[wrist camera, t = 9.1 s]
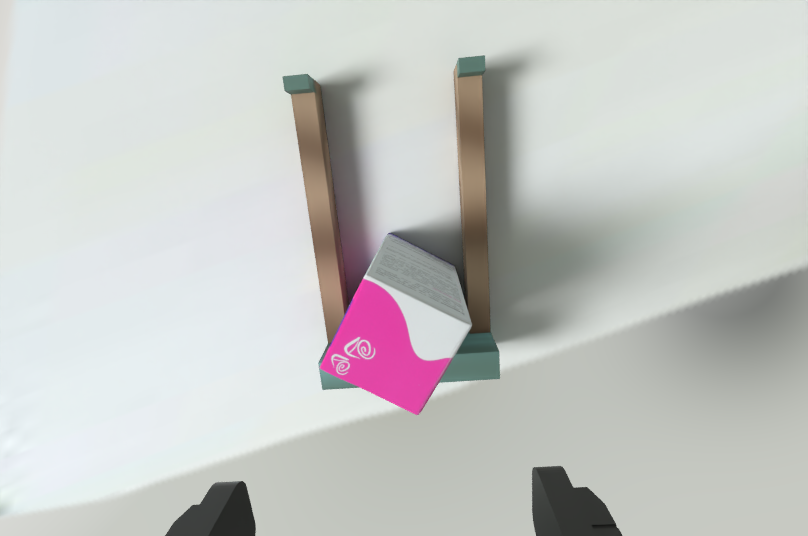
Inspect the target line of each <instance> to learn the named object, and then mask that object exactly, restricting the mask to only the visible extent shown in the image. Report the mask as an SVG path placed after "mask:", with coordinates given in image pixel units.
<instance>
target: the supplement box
mask: <svg viewBox="0 0 808 536" xmlns="http://www.w3.org/2000/svg"><path fill="white" fill-rule="evenodd" d="M471 327H472V323H471V319H470V316H469V312H468V309H467V306H466V303H465V299H464V296H463V293H462V289H461V286H460V282H459V279H458V275H457V272H456V268H455V266H454V265H452V264H451V263H449V262H447V261H445V260H443V259H441V258H439V257H437V256H435V255H433V254H431V253H429V252H427V251H425V250H423V249H421V248H419V247H417V246H415V245H413V244H411V243H409V242H407V241H405V240H403V239H401V238H399V237H398V236H396V235H394V234H391V233H388V234H387V236H386V237H385V239H384V241H383V243H382V244H381V246H380V248H379V250H378V252H377V254H376V255H375V257H374V259H373V261H372V263H371V265H370V267H369V268H368V270H367V272H366V274H365V276H364V278H363V280H362V282H361V283H360V285H359V287H358V289H357V291H356V293H355V295H354V297H353V299H352V301H351V303H350V305H349V307H348V309H347V311H346V313H345V315H344V317H343V319H342V321H341V323H340V326H339V328H338V330H337V332H336V334H335V336H334V338H333V340H332V342H331V344H330V346H329V349H328V351H327V353H326V355H325V357H324V359H323V361H322V363H321V365H320V369H321V370H323V371H325V372H327V373H329V374H331V375H333V376H336V377H338V378H340V379H342V380H344V381H346V382H349V383H351V384H353V385H356V386H358V387H360V388H362V389H364V390H366V391H369V392H371V393H373V394H375V395H377V396H379V397H381V398H383V399H385V400H387V401H389V402H391V403H393V404H395V405H397V406H399V407H401V408H403V409H405V410H407V411H409V412H412V413H414V414H416V415H418V414H419V413H420V412H421V411H422V409H423V408H424V406H425V404H426V403H427V401H428V400H429V398H430V396H431V395H432V393H433V391H434V390H435V388H436V386H437V385H438V383H439V382H440V380H441V378H442V376H443V375H444V373H445V371H446V370H447V368H448V366H449V365H450V363H451V361H452V359H453V358H454V356H455V354H456V353H457V351H458V349H459V347H460V346H461V344H462V342H463V340H464V339H465V337H466V336H467V334H468V332H469V330H470V329H471Z"/></svg>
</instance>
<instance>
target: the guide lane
mask: <svg viewBox="0 0 808 536" xmlns="http://www.w3.org/2000/svg"><path fill="white" fill-rule="evenodd" d="M484 72H485V56H475V57H465V58H459V59H458V62H457V64H456V67H455V69H454V87H455V106H456V126H457V146H458V166H459V186H460V206H461V226H462V246H463V266H464V286H465V303H466V306H467V309H468V312H469V316H470V319H471V323H472V327H471V329H470V330H469V332H468V334H467V336H466V337H465V339H464V340H463V342H462V344H461V346H460V347H459V349H458V351H457V353H456V354H455V356H454V358H453V359H452V361H451V363H450V365H449V366H448V368H447V370H446V371H445V373H444V375H443V376H442V378H441V380H440V382H456V381H472V380H488V379H500V364H499V350H498V348H497V346H496V343H495V341H494V339H493V337H492V335H491V332H490V302H489V272H488V242H487V212H486V182H485V152H484V123H483V93H482V74H483V73H484ZM283 83H284V89H285V91H286V92H287V93H289V94H291V98H292V104H293V111H294V118H295V125H296V131H297V138H298V145H299V151H300V158H301V165H302V171H303V178H304V185H305V191H306V198H307V205H308V211H309V218H310V225H311V232H312V238H313V245H314V252H315V258H316V265H317V272H318V278H319V285H320V292H321V298H322V305H323V312H324V319H325V325H326V332H327V339H328V345H327V347H326V349H325V351H324V353H323V355H322V357H321V359H320V361H319V363H318V364H319V370H320V377H321V383H322V389H323V390H326V389H343V388H359V387H358V386H356V385H353V384H351V383H349V382H346V381H344V380H342V379H340V378H338V377H336V376H333V375H331V374H329V373H327V372H325V371H323V370H321V369H320V365H321V363H322V361H323V359H324V357H325V355H326V353H327V351H328V349H329V346H330V344H331V342H332V340H333V338H334V336H335V334H336V332H337V330H338V328H339V326H340V323H341V321H342V319H343V317H344V315H345V313H346V311H347V309H348V307H349V301H348V293H347V286H346V278H345V271H344V263H343V255H342V248H341V240H340V232H339V225H338V217H337V210H336V202H335V194H334V187H333V179H332V171H331V164H330V156H329V148H328V141H327V133H326V126H325V118H324V110H323V103H322V95H321V87H320V84H318V83H317V82H316V81H315V80H314V79H313V78H311V77H310V76H309V75H308V74H302V75H293V76H283ZM440 382H439V383H440Z"/></svg>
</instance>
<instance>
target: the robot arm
mask: <svg viewBox="0 0 808 536" xmlns="http://www.w3.org/2000/svg"><path fill="white" fill-rule="evenodd" d="M532 513H533V521H534V527H535V532H536V536H622V534H621V532H620V531H619V529H618V528H617V527H616V523H615V521H614V520H613V518H612V516H611V514H610V512H609V511H608V509H607V507H606V505H605V504H604V503H603V502H602V501H601V500H600V499H599V498H598V497H597V496H596V495H595V494H594V493H593V492H592V491H590V489H588V488H587V487H580V488H573V486H572V484H571V482H570V480H569V478H568V476H567V474H566V472H565V470H564V468H563V467H561V466H552V467H534V468H533V471H532ZM255 530H256V528H255V520H254V516H253V512H252V508H251V503H250V499H249V495H248V491H247V487H246V484H245V483H244V482H243V481H238V482H218V483H215V484H213V485H212V487H211V488H210V489H209V491H208V492H207V494H206V496H205V497H204V499H203V501H202V502H201V504H200V505H192V506H191V507H190V508H189V509H188V510H187V511H186V512H185V513H184V514H183V515H182V516H181V517H179V518H178V519H177V520H176V521H175V522H174V523H173V525H172V526H171V528H170V529H169V531H168V532H167V534H166V535H165V536H255Z"/></svg>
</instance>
